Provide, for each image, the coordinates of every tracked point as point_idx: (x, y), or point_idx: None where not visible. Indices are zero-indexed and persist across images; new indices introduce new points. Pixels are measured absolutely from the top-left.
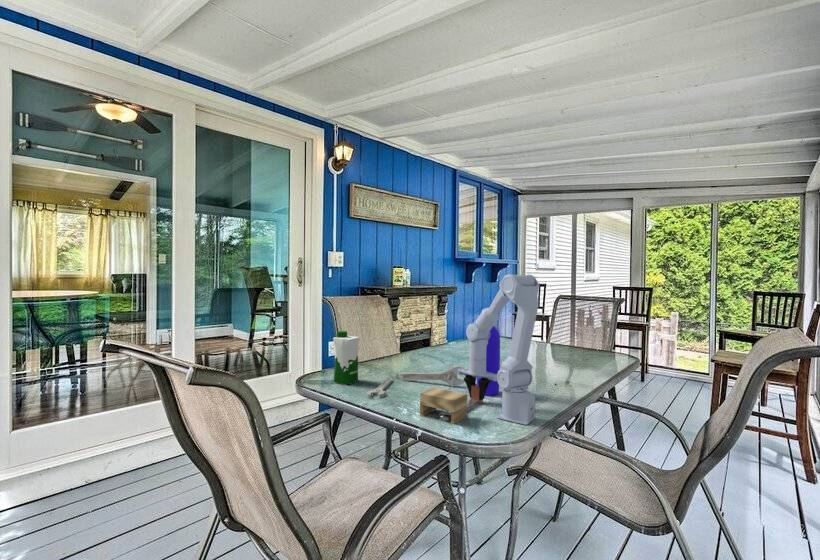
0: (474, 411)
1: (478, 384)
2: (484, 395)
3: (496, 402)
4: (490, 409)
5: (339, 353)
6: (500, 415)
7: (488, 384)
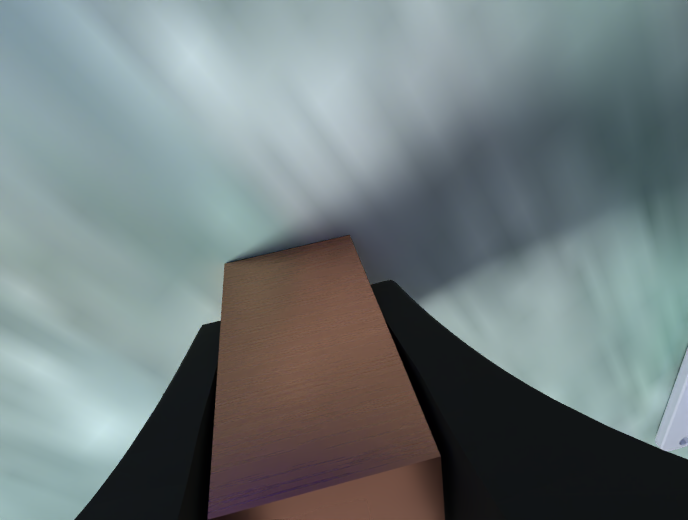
0: None
1: (327, 508)
2: (416, 308)
3: (500, 74)
4: (538, 342)
5: None
6: (682, 419)
7: (603, 440)
